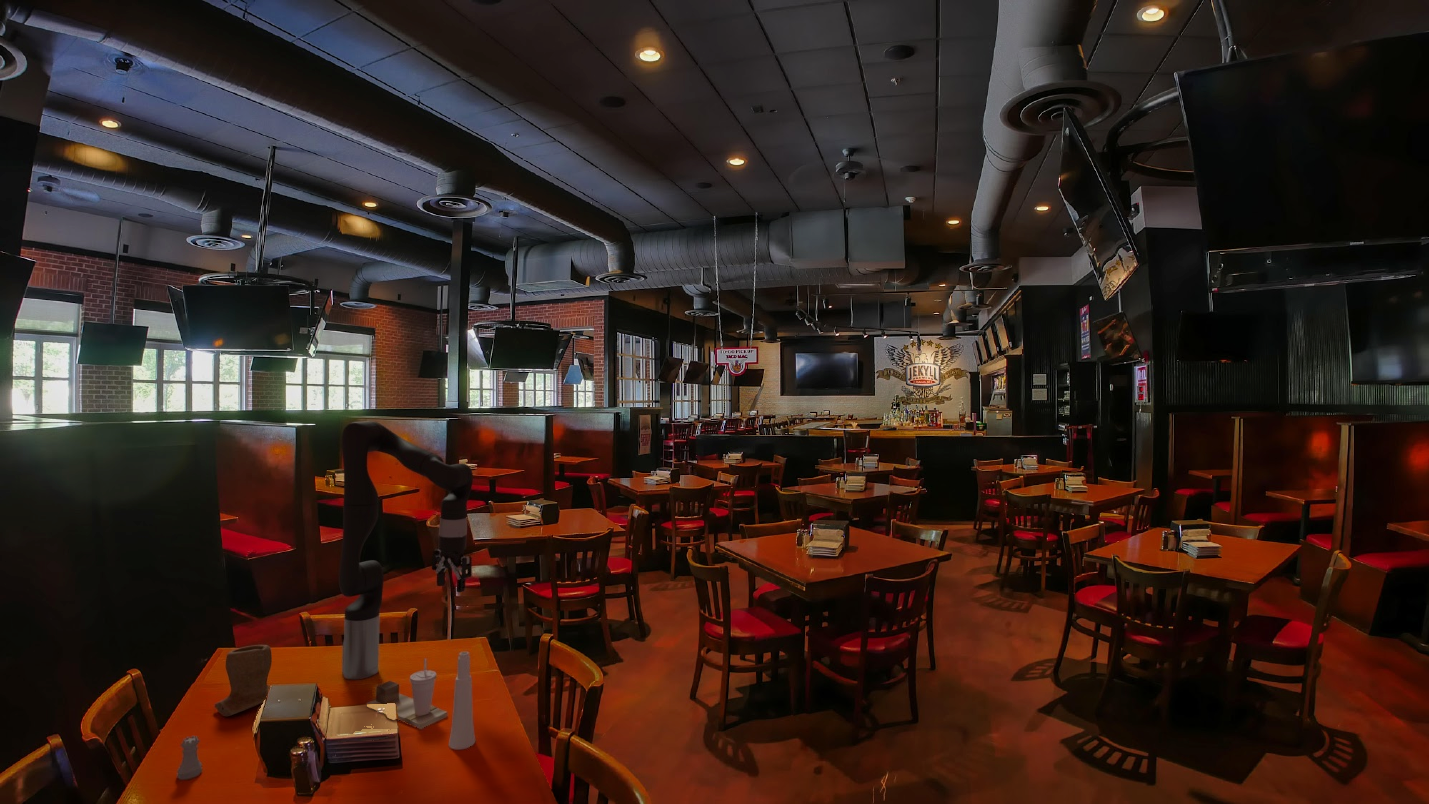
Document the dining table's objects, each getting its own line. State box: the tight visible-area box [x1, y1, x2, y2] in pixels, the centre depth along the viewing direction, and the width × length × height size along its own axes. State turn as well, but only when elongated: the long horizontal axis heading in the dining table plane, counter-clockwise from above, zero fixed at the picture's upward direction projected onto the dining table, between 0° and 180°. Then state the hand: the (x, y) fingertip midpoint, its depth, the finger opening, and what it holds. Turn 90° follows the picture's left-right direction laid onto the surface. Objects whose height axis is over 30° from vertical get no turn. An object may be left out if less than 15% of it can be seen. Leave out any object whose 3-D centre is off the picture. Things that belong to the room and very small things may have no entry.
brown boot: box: [214, 644, 273, 717], centre depth 178 cm, size 15×12×15 cm
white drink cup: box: [409, 658, 437, 716], centre depth 174 cm, size 6×6×14 cm
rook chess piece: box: [176, 735, 203, 781], centre depth 146 cm, size 4×4×8 cm
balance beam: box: [366, 680, 448, 730], centre depth 176 cm, size 22×10×5 cm, turn 61°
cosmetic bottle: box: [448, 651, 476, 751], centre depth 161 cm, size 6×6×22 cm
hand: (450, 588), depth 193 cm, fingers open, 8 cm apart
